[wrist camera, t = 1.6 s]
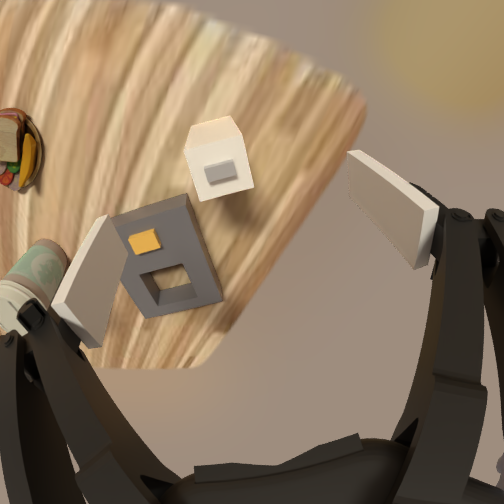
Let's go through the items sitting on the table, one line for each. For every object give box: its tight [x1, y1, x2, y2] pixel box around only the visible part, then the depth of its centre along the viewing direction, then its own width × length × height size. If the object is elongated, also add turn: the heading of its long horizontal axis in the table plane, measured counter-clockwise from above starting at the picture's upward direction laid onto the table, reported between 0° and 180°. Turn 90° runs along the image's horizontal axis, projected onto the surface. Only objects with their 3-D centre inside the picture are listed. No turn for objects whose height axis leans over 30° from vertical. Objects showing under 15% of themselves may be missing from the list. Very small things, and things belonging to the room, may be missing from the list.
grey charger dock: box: [110, 193, 223, 319], centre depth 32 cm, size 11×14×4 cm
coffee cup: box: [0, 239, 67, 336], centre depth 26 cm, size 9×9×12 cm
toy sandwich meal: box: [0, 108, 42, 191], centre depth 21 cm, size 9×10×4 cm
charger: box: [184, 116, 254, 202], centre depth 22 cm, size 4×4×11 cm
